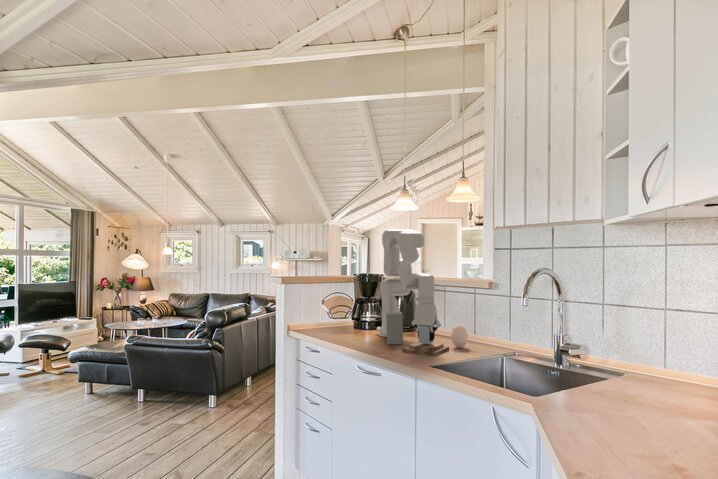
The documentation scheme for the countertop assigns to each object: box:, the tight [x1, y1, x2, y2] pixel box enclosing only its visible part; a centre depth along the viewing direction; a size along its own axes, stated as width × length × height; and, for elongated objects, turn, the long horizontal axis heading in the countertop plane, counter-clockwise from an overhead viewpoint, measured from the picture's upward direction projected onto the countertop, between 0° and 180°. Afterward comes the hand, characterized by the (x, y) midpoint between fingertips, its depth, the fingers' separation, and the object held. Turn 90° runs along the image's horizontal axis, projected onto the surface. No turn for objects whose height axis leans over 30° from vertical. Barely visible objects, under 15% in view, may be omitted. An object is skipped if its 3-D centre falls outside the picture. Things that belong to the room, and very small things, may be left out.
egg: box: [450, 323, 469, 349], centre depth 214 cm, size 8×8×11 cm
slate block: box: [418, 325, 434, 344], centre depth 206 cm, size 5×5×8 cm
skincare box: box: [386, 311, 404, 345], centre depth 224 cm, size 8×7×16 cm
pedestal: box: [402, 341, 450, 357], centre depth 206 cm, size 16×16×3 cm
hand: (426, 339), depth 206 cm, fingers closed on slate block, 5 cm apart
